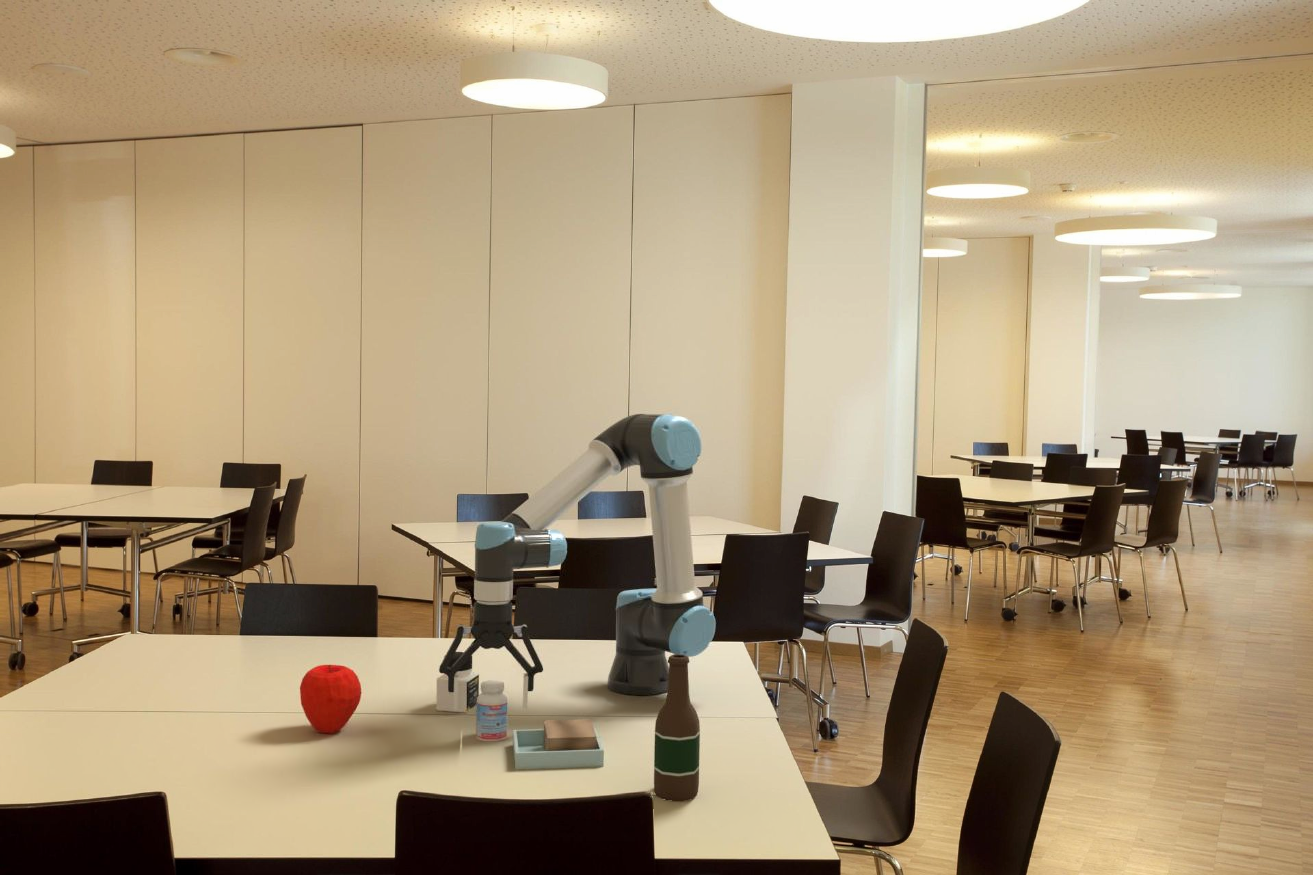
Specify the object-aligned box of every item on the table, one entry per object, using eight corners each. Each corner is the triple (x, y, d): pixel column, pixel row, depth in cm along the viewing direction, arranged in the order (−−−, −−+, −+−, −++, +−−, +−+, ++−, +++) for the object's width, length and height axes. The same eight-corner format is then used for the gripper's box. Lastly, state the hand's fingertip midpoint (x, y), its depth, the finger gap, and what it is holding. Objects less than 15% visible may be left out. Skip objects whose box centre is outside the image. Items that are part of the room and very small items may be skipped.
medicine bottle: (467, 713, 236) (467, 657, 235) (435, 710, 237) (436, 655, 237) (479, 704, 243) (479, 650, 242) (448, 702, 244) (449, 648, 244)
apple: (372, 725, 226) (372, 660, 225) (337, 742, 215) (338, 674, 214) (323, 719, 230) (323, 655, 229) (287, 735, 218) (287, 668, 218)
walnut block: (590, 744, 214) (590, 719, 214) (596, 763, 203) (596, 736, 203) (543, 746, 213) (543, 720, 212) (547, 765, 202) (547, 738, 202)
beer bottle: (651, 786, 193) (654, 650, 193) (695, 785, 194) (698, 650, 193) (655, 802, 186) (658, 661, 185) (701, 802, 186) (704, 661, 185)
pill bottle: (481, 745, 214) (482, 688, 214) (472, 736, 220) (472, 680, 219) (511, 741, 217) (512, 684, 217) (501, 732, 222) (501, 677, 222)
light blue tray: (595, 745, 216) (595, 727, 216) (603, 769, 202) (603, 750, 202) (512, 747, 213) (513, 729, 213) (515, 772, 199) (515, 753, 199)
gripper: (555, 597, 223) (552, 701, 224) (429, 597, 219) (426, 703, 220) (557, 604, 216) (555, 712, 216) (427, 604, 212) (425, 714, 212)
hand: (490, 708), depth 218 cm, fingers open, 13 cm apart
